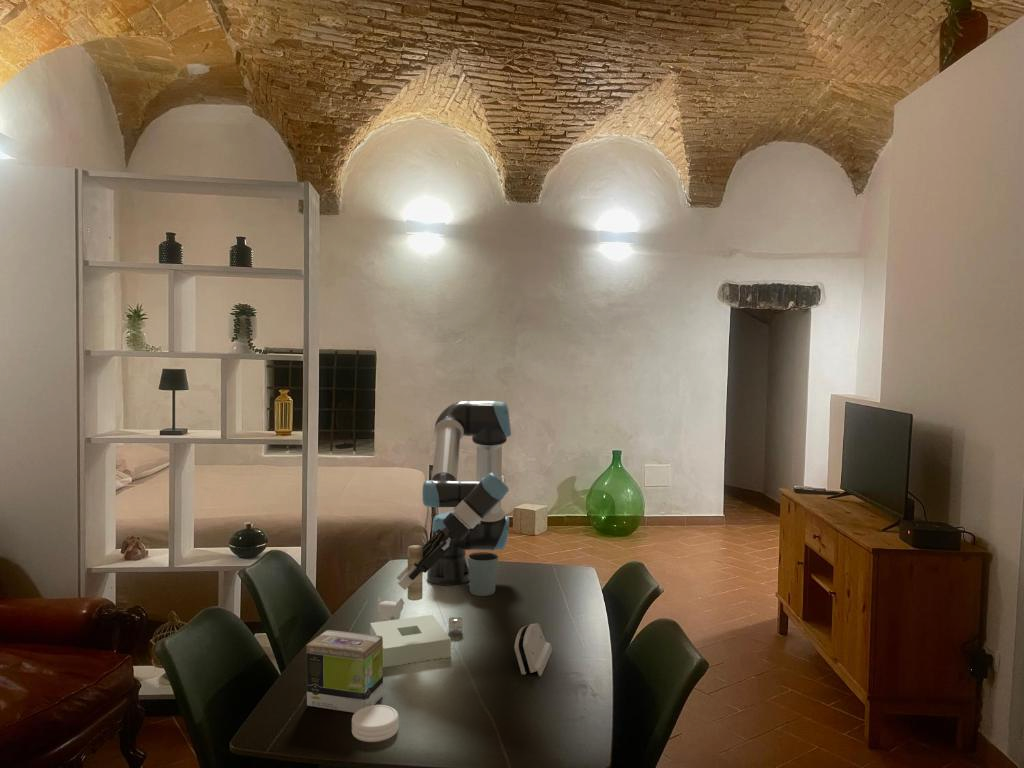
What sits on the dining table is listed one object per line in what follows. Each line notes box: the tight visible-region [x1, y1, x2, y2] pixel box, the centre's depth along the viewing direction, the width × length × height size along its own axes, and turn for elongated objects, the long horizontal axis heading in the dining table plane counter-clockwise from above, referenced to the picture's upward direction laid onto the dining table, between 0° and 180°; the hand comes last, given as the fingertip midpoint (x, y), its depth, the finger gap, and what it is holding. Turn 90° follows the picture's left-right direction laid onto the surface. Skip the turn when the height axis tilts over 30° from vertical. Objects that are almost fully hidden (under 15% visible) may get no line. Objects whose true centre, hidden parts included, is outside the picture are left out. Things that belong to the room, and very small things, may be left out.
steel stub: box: [447, 616, 463, 637], centre depth 213 cm, size 4×4×4 cm
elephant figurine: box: [376, 595, 405, 622], centre depth 220 cm, size 8×10×7 cm
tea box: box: [305, 629, 384, 714], centre depth 172 cm, size 15×10×15 cm
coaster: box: [351, 704, 400, 743], centre depth 160 cm, size 10×10×4 cm
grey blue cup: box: [467, 551, 499, 597], centre depth 247 cm, size 10×10×12 cm
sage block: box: [369, 614, 452, 668], centre depth 201 cm, size 18×18×5 cm
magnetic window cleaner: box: [514, 622, 553, 677], centre depth 195 cm, size 17×5×10 cm, turn 166°
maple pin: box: [407, 544, 424, 601], centre depth 200 cm, size 4×4×14 cm
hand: (400, 583), depth 200 cm, fingers closed on maple pin, 4 cm apart
